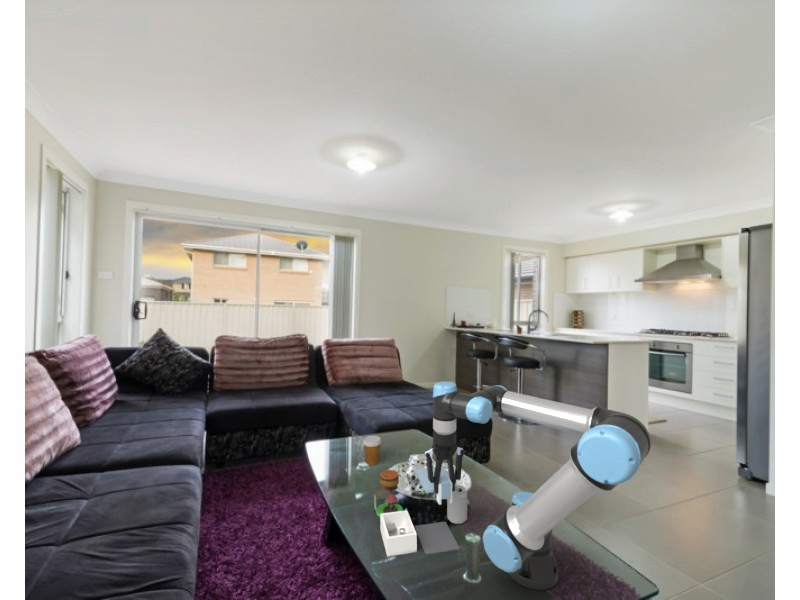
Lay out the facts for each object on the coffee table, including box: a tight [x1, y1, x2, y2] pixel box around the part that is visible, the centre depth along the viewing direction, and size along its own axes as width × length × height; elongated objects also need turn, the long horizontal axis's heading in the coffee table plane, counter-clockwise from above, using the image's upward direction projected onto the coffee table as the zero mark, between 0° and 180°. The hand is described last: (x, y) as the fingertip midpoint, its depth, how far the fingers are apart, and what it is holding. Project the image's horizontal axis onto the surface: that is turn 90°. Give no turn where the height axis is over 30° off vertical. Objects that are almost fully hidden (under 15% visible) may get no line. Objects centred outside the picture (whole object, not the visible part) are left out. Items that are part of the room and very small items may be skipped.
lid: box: [414, 465, 457, 500], centre depth 131 cm, size 20×11×5 cm, turn 12°
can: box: [446, 484, 468, 525], centre depth 144 cm, size 8×8×12 cm
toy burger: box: [373, 469, 404, 518], centre depth 149 cm, size 12×13×15 cm
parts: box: [387, 523, 406, 537], centre depth 132 cm, size 10×6×3 cm, turn 12°
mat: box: [413, 521, 461, 556], centre depth 133 cm, size 15×12×1 cm
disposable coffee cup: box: [362, 435, 382, 466], centre depth 191 cm, size 10×10×12 cm
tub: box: [379, 510, 418, 558], centre depth 132 cm, size 14×10×6 cm
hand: (444, 501), depth 123 cm, fingers closed on lid, 3 cm apart
